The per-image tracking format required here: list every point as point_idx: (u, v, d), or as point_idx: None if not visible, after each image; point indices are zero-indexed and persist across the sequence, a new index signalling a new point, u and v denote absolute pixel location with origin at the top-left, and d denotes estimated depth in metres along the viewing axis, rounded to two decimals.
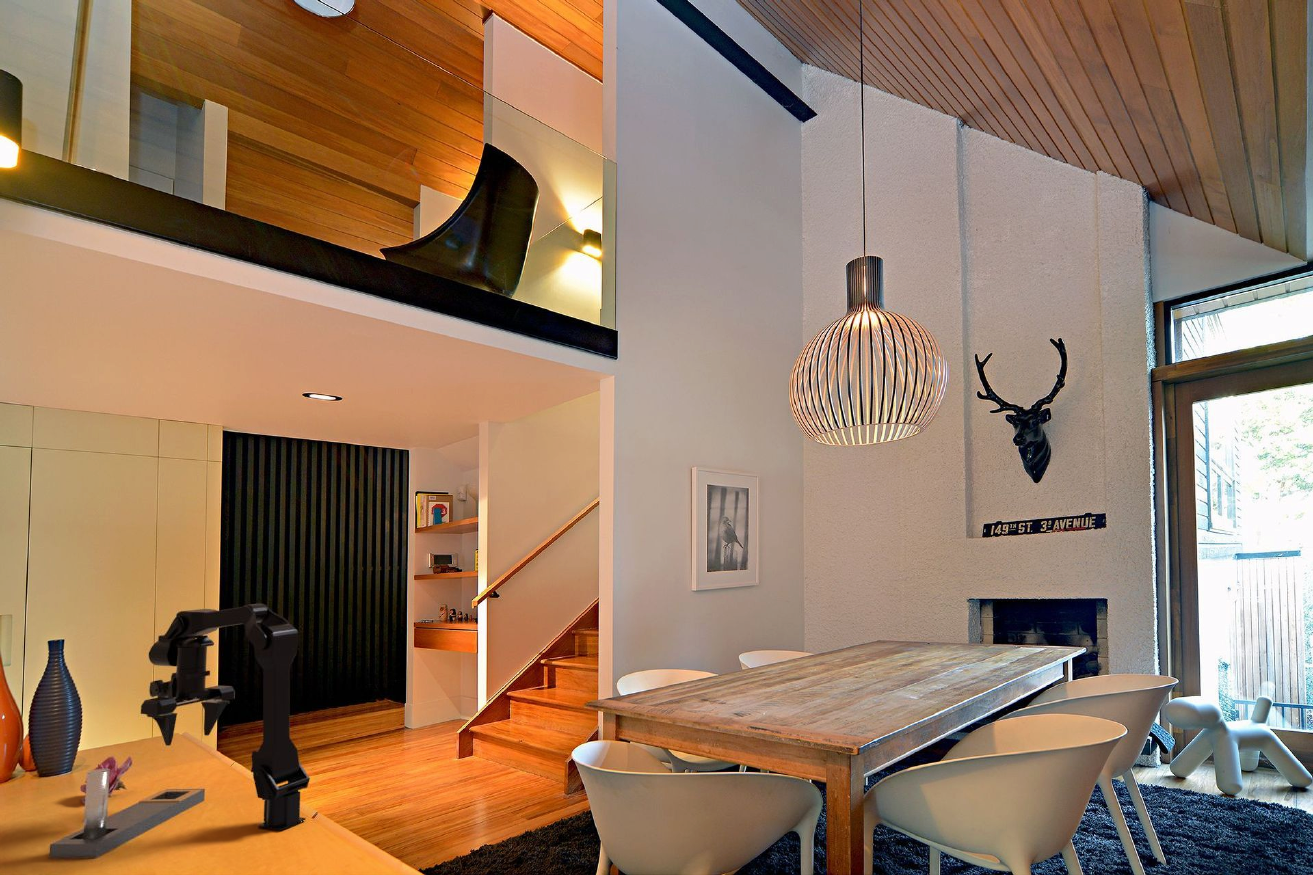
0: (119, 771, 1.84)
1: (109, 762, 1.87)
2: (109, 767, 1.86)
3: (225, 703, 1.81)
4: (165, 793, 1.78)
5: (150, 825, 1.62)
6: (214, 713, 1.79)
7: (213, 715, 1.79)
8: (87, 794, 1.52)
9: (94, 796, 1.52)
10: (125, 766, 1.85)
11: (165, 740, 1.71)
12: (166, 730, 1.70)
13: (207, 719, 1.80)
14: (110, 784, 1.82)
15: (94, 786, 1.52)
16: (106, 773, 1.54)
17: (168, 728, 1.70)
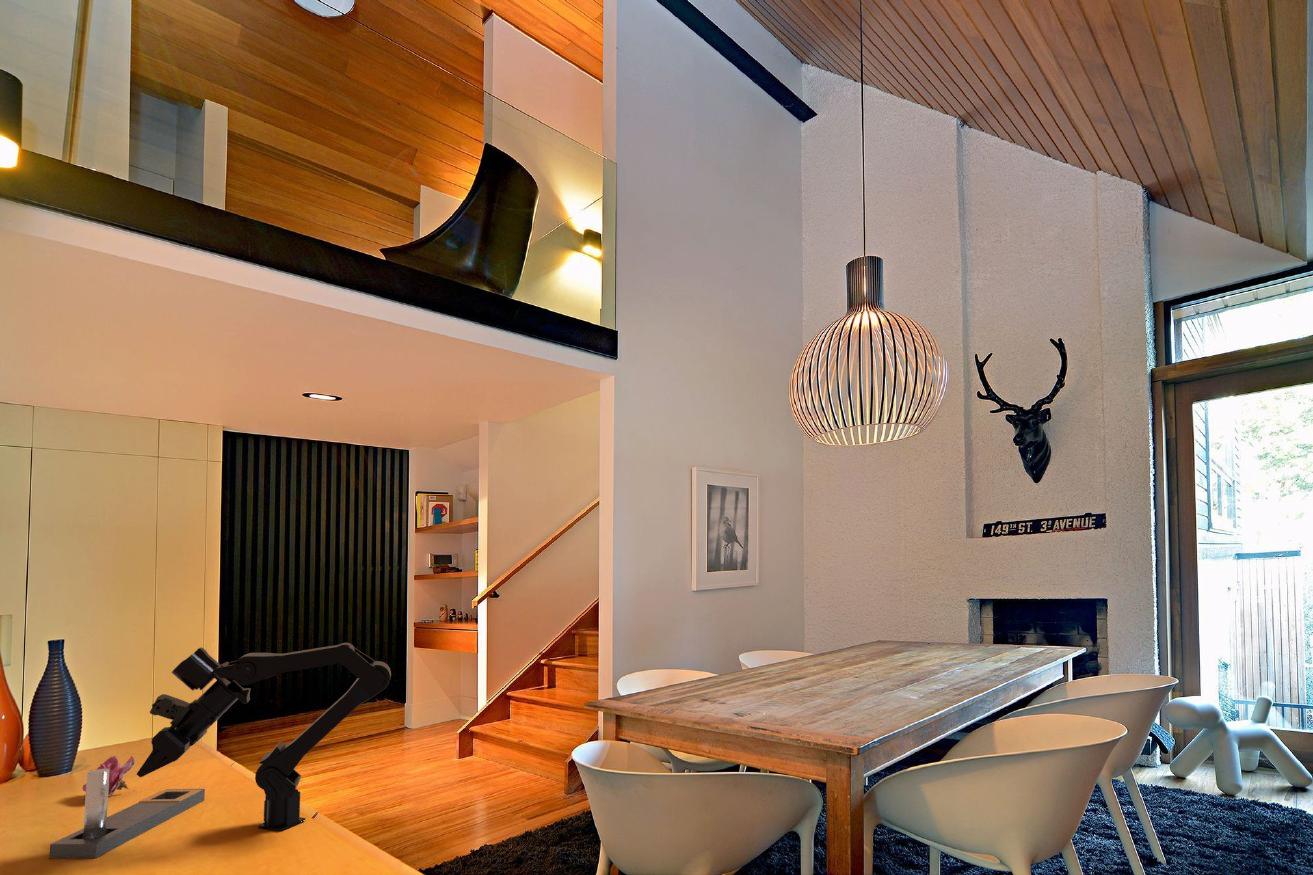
0: (121, 771, 1.85)
1: (111, 762, 1.87)
2: (111, 767, 1.87)
3: (194, 743, 1.66)
4: (165, 793, 1.78)
5: (150, 825, 1.62)
6: None
7: None
8: (87, 794, 1.52)
9: (94, 796, 1.52)
10: (127, 766, 1.85)
11: (141, 770, 1.52)
12: (155, 765, 1.53)
13: None
14: (112, 783, 1.82)
15: (94, 786, 1.52)
16: (106, 773, 1.54)
17: (159, 766, 1.53)
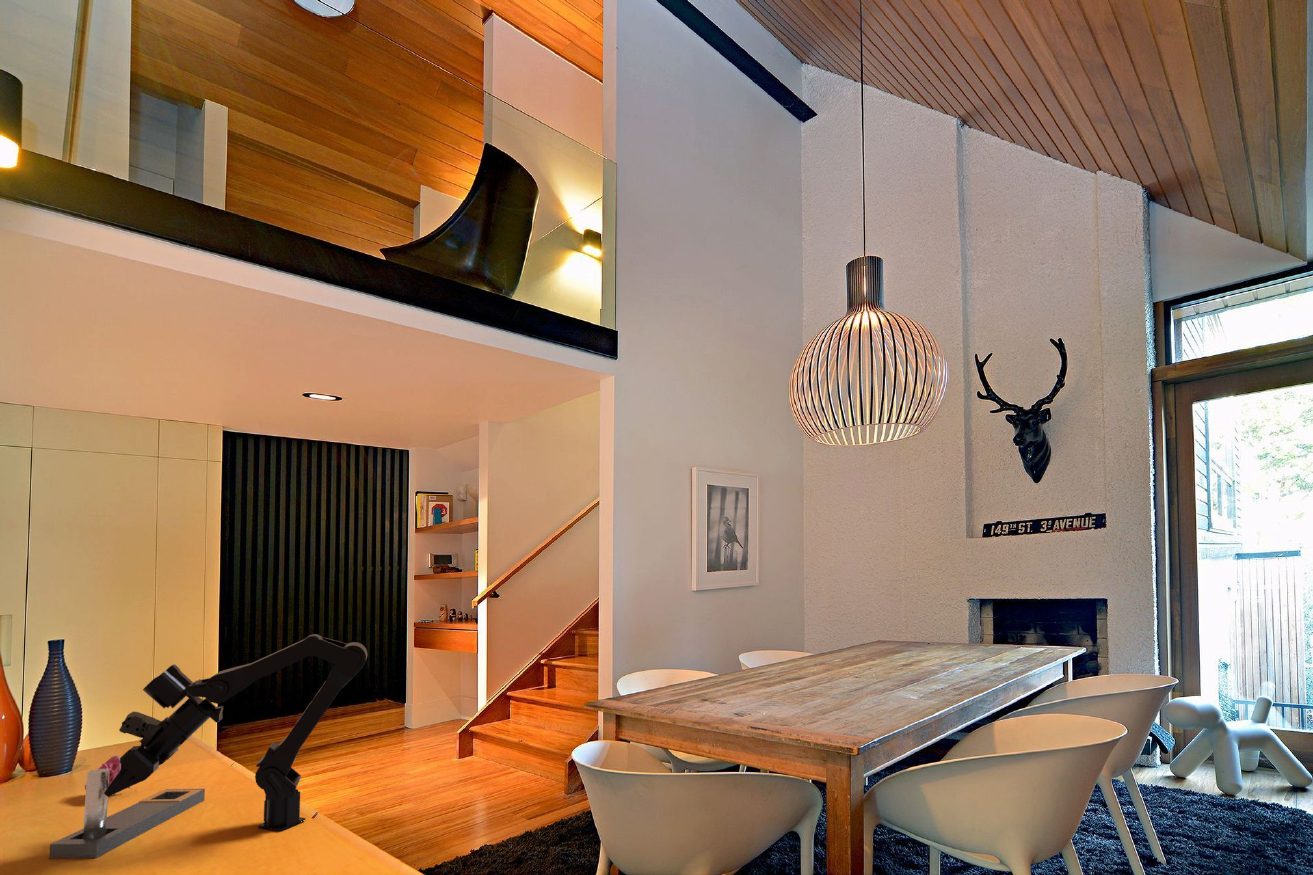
0: None
1: (113, 761, 1.88)
2: (113, 766, 1.87)
3: (164, 761, 1.63)
4: (165, 793, 1.78)
5: (150, 825, 1.62)
6: None
7: None
8: (87, 794, 1.52)
9: (94, 796, 1.52)
10: None
11: (109, 790, 1.50)
12: (123, 785, 1.50)
13: None
14: None
15: (94, 786, 1.52)
16: (106, 773, 1.54)
17: (127, 785, 1.51)
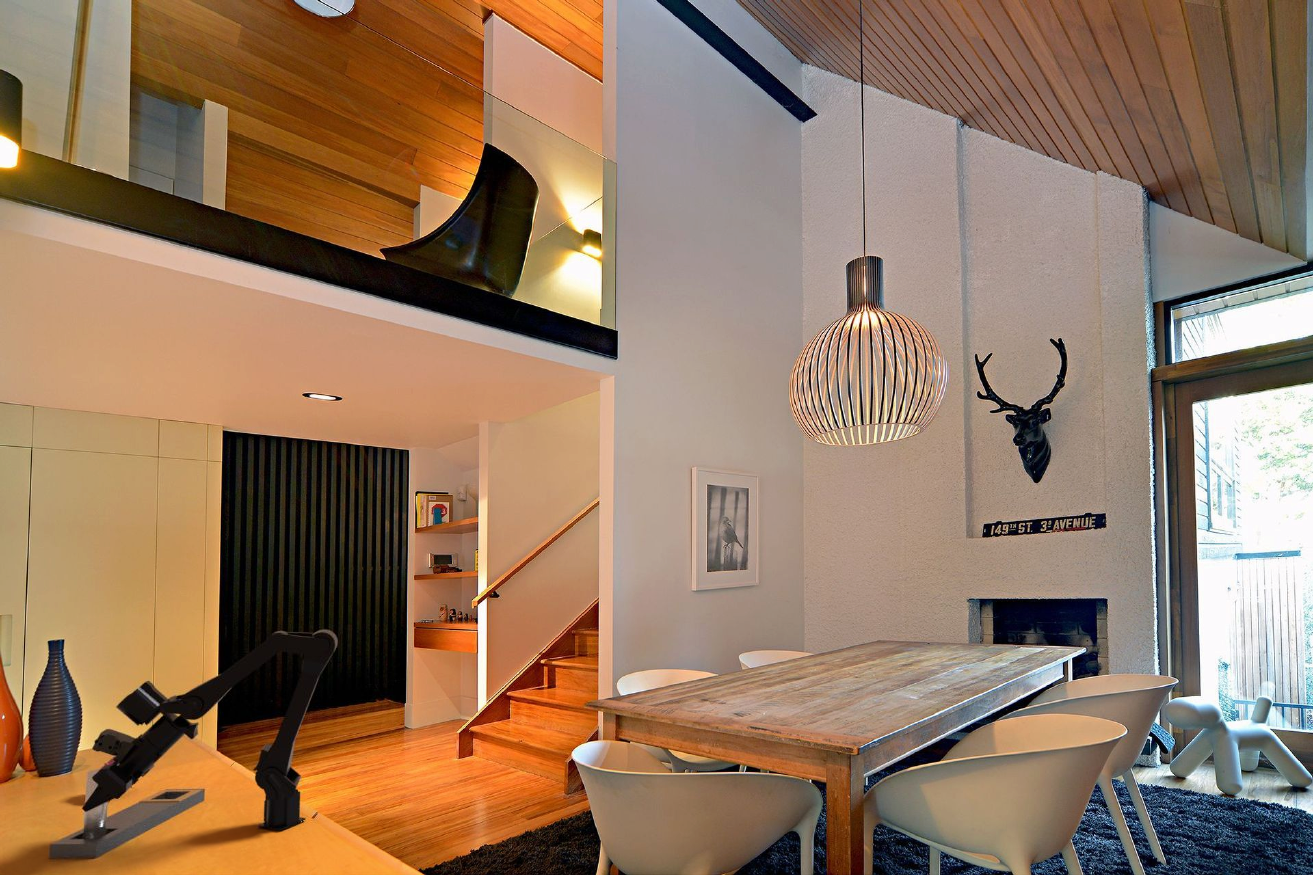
0: None
1: None
2: None
3: (135, 782, 1.59)
4: (165, 793, 1.78)
5: (150, 825, 1.62)
6: None
7: None
8: (87, 794, 1.52)
9: None
10: None
11: (86, 805, 1.51)
12: (101, 800, 1.51)
13: None
14: None
15: (94, 786, 1.52)
16: None
17: (105, 800, 1.51)
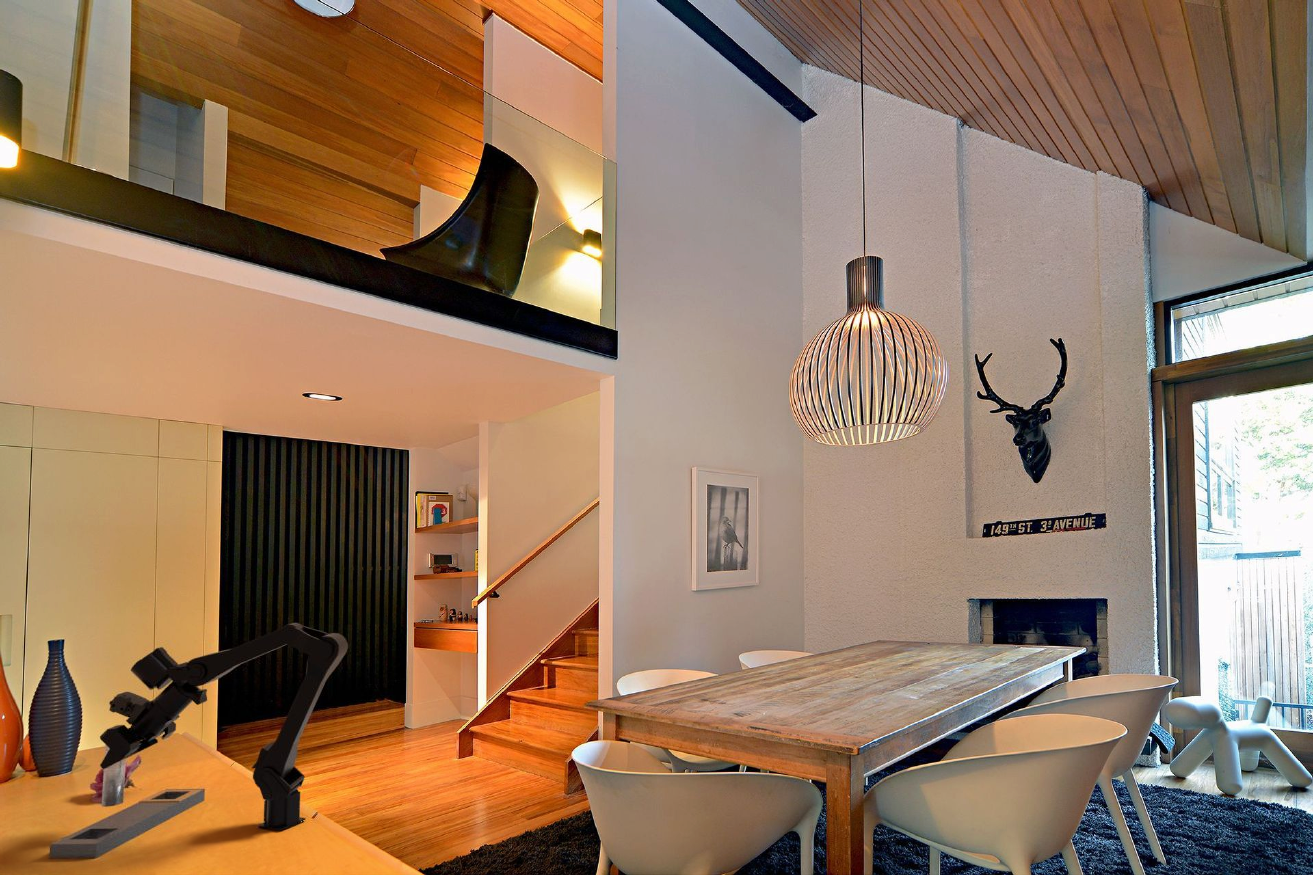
0: (128, 769, 1.86)
1: None
2: None
3: None
4: (165, 793, 1.78)
5: (150, 825, 1.62)
6: (138, 749, 1.64)
7: (136, 750, 1.64)
8: (105, 752, 1.60)
9: None
10: (134, 764, 1.86)
11: (103, 762, 1.59)
12: (115, 759, 1.58)
13: None
14: None
15: None
16: None
17: (119, 759, 1.58)
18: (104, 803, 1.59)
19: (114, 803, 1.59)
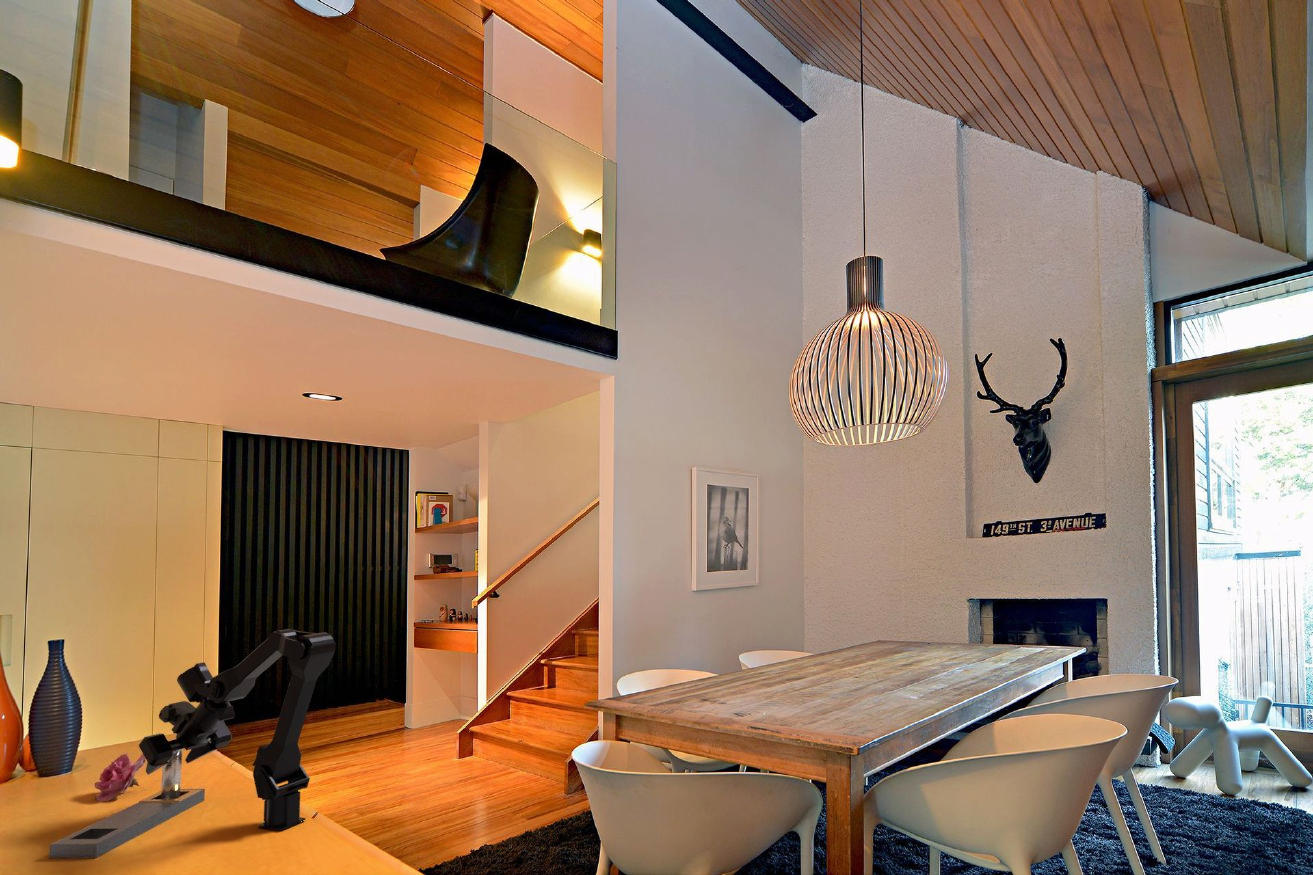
0: (133, 768, 1.86)
1: (122, 759, 1.89)
2: (122, 764, 1.89)
3: (216, 749, 1.80)
4: None
5: (150, 825, 1.62)
6: (202, 752, 1.80)
7: (200, 753, 1.80)
8: None
9: None
10: (139, 763, 1.87)
11: (147, 769, 1.72)
12: (152, 767, 1.70)
13: (194, 749, 1.80)
14: (124, 781, 1.84)
15: None
16: None
17: (154, 768, 1.70)
18: None
19: None
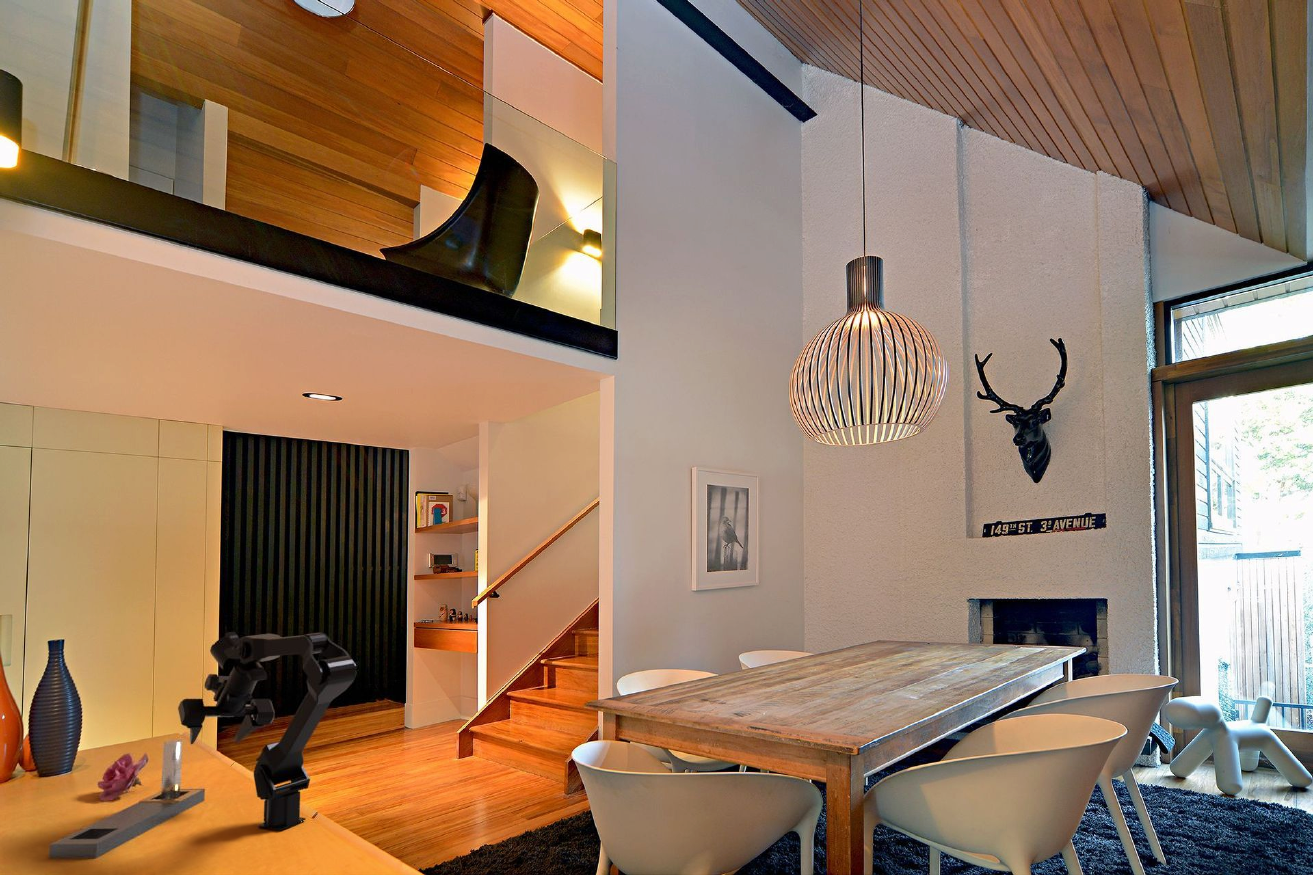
0: (136, 768, 1.87)
1: (125, 759, 1.89)
2: (125, 764, 1.89)
3: (258, 726, 1.78)
4: None
5: (150, 825, 1.62)
6: (246, 729, 1.78)
7: (245, 730, 1.78)
8: None
9: (164, 764, 1.74)
10: (142, 763, 1.88)
11: (190, 738, 1.73)
12: (191, 733, 1.71)
13: (241, 728, 1.79)
14: (127, 780, 1.84)
15: (164, 754, 1.75)
16: (174, 745, 1.75)
17: (192, 734, 1.70)
18: None
19: None
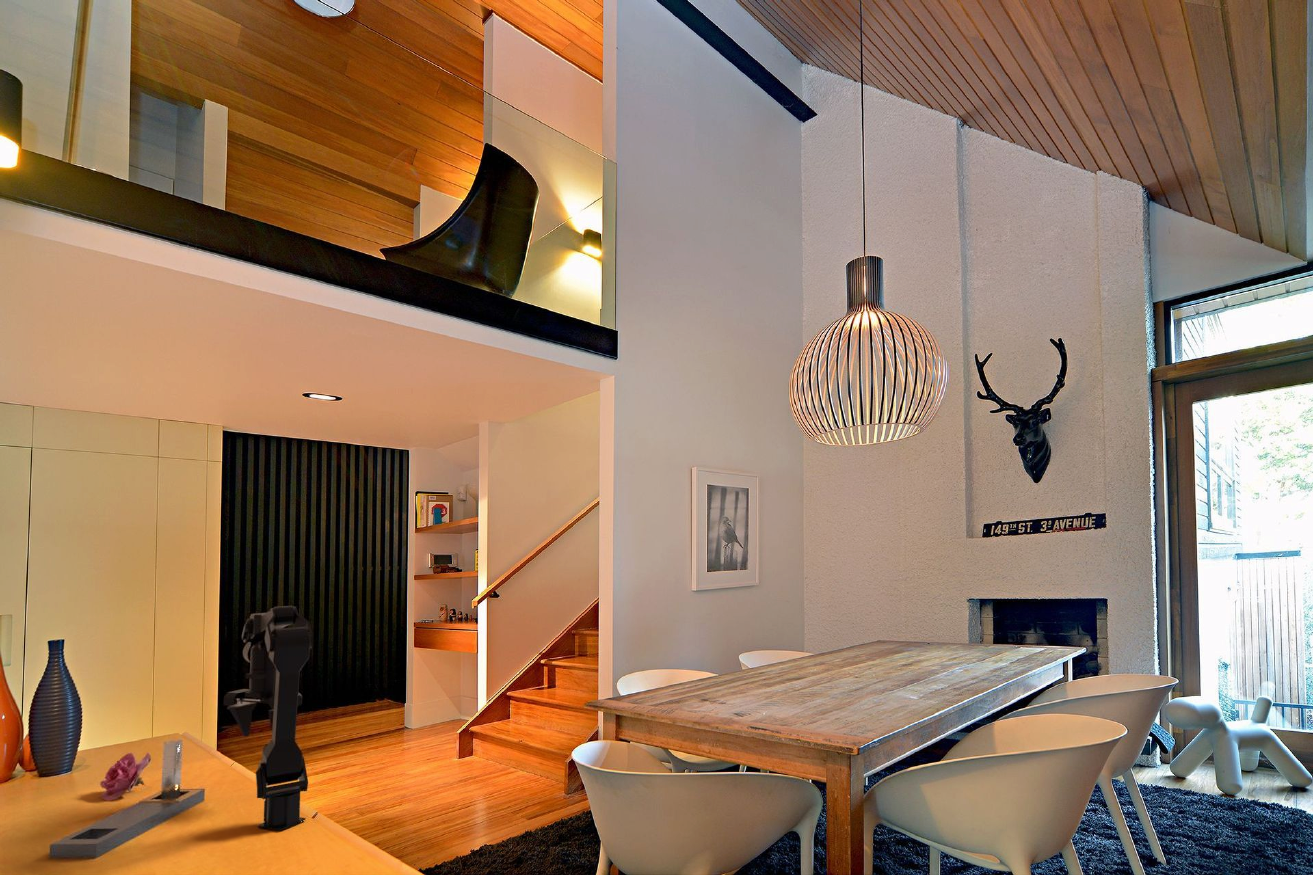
0: (138, 767, 1.87)
1: (127, 758, 1.90)
2: (128, 763, 1.89)
3: (273, 711, 1.78)
4: None
5: (150, 825, 1.62)
6: None
7: None
8: None
9: (164, 763, 1.74)
10: (144, 762, 1.88)
11: None
12: None
13: None
14: (130, 780, 1.85)
15: (164, 754, 1.75)
16: (174, 745, 1.75)
17: None
18: None
19: None
